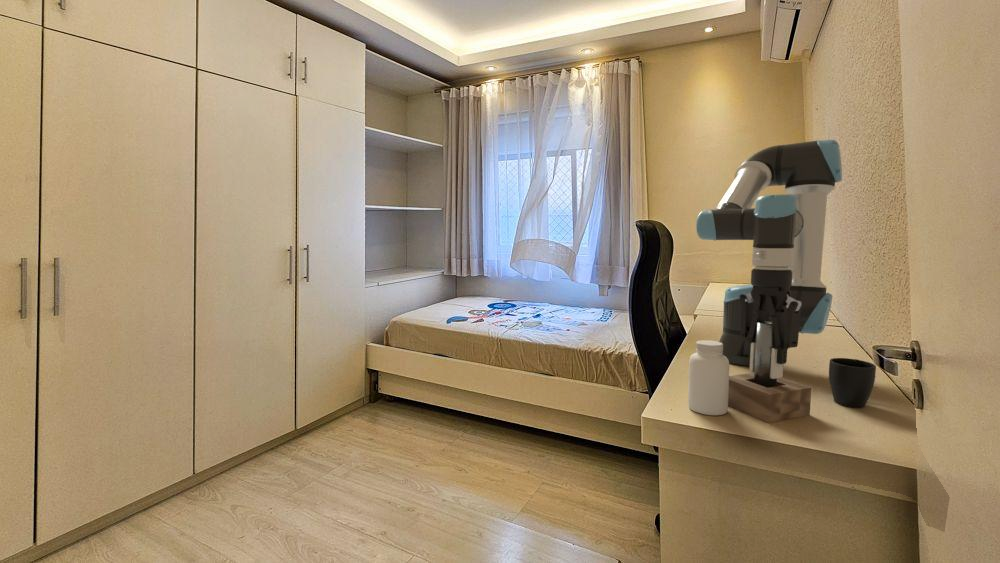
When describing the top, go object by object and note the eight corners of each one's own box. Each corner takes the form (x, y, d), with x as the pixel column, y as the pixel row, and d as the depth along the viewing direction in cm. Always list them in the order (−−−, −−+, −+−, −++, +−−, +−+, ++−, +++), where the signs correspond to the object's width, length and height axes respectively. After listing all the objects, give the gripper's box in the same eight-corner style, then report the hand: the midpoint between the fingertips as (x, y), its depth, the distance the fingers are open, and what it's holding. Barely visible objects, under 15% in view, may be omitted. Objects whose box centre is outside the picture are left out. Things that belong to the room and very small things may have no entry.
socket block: (759, 396, 105) (760, 371, 105) (809, 414, 94) (811, 387, 94) (720, 402, 101) (721, 377, 101) (768, 423, 90) (770, 394, 89)
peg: (763, 381, 100) (766, 320, 99) (781, 387, 96) (785, 324, 94) (748, 384, 98) (752, 322, 97) (766, 390, 94) (770, 325, 93)
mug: (878, 399, 103) (881, 359, 102) (869, 413, 95) (872, 370, 94) (835, 390, 109) (837, 353, 108) (822, 403, 101) (825, 362, 100)
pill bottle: (686, 400, 103) (689, 337, 101) (725, 405, 100) (728, 340, 98) (688, 413, 95) (690, 345, 94) (729, 418, 92) (733, 348, 91)
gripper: (725, 266, 102) (720, 365, 104) (798, 271, 85) (791, 389, 88) (749, 265, 104) (744, 362, 106) (825, 270, 88) (817, 384, 90)
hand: (765, 374), depth 97 cm, fingers closed on peg, 4 cm apart
